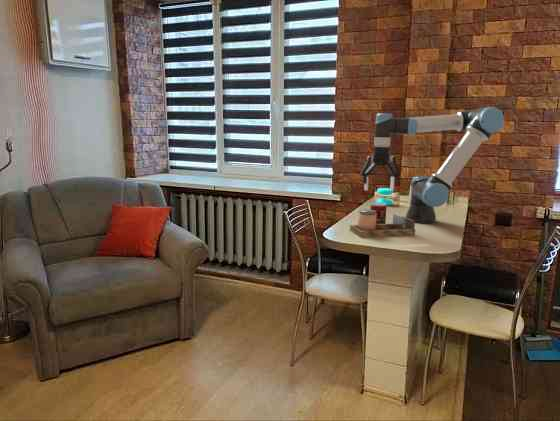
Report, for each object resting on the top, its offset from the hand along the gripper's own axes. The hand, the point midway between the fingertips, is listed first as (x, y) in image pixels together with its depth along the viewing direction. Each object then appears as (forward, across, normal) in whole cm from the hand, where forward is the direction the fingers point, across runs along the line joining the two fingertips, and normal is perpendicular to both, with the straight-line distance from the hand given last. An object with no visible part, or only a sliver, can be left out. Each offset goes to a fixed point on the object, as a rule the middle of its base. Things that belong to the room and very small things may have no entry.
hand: (379, 190), depth 212 cm
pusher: (+16, -4, +18) cm, 25 cm away
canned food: (+18, 0, 0) cm, 18 cm away
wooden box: (+18, +6, +18) cm, 26 cm away
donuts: (+18, -30, -56) cm, 66 cm away
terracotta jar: (+17, +13, +18) cm, 28 cm away
